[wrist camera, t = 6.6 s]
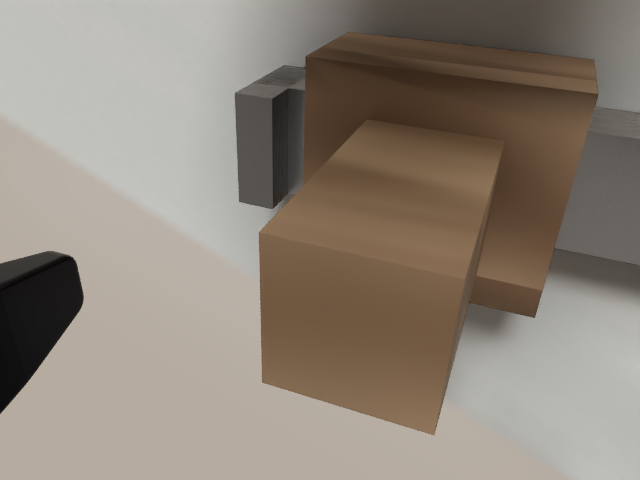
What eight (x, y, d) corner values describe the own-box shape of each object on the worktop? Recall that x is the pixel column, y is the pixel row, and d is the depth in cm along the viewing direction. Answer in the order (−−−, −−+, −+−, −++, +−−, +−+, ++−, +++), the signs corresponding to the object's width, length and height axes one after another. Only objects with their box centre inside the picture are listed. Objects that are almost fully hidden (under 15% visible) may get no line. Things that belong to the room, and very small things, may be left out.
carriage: (540, 256, 16) (516, 514, 9) (338, 213, 18) (192, 406, 11) (593, 59, 14) (614, 222, 7) (348, 32, 15) (163, 138, 8)
